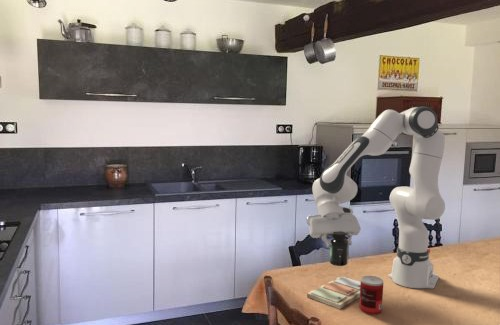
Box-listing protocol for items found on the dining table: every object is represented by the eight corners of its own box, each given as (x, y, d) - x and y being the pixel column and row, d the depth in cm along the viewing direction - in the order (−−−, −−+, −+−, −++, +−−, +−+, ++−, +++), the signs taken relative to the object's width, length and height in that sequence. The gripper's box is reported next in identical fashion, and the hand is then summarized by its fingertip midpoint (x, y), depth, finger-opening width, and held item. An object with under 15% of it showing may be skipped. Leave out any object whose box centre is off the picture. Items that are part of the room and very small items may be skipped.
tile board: (340, 279, 179) (340, 275, 179) (371, 289, 170) (371, 284, 170) (306, 297, 161) (307, 291, 161) (339, 309, 152) (340, 303, 152)
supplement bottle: (328, 265, 164) (329, 234, 162) (330, 259, 170) (331, 229, 169) (347, 267, 162) (347, 236, 160) (348, 261, 168) (349, 231, 166)
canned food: (377, 304, 156) (379, 275, 155) (385, 315, 148) (386, 284, 147) (356, 304, 156) (358, 275, 155) (363, 314, 148) (364, 284, 147)
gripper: (307, 211, 168) (316, 243, 160) (356, 208, 172) (366, 239, 164) (303, 219, 173) (311, 251, 164) (350, 217, 177) (361, 247, 169)
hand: (339, 245), depth 164 cm, fingers closed on supplement bottle, 7 cm apart
